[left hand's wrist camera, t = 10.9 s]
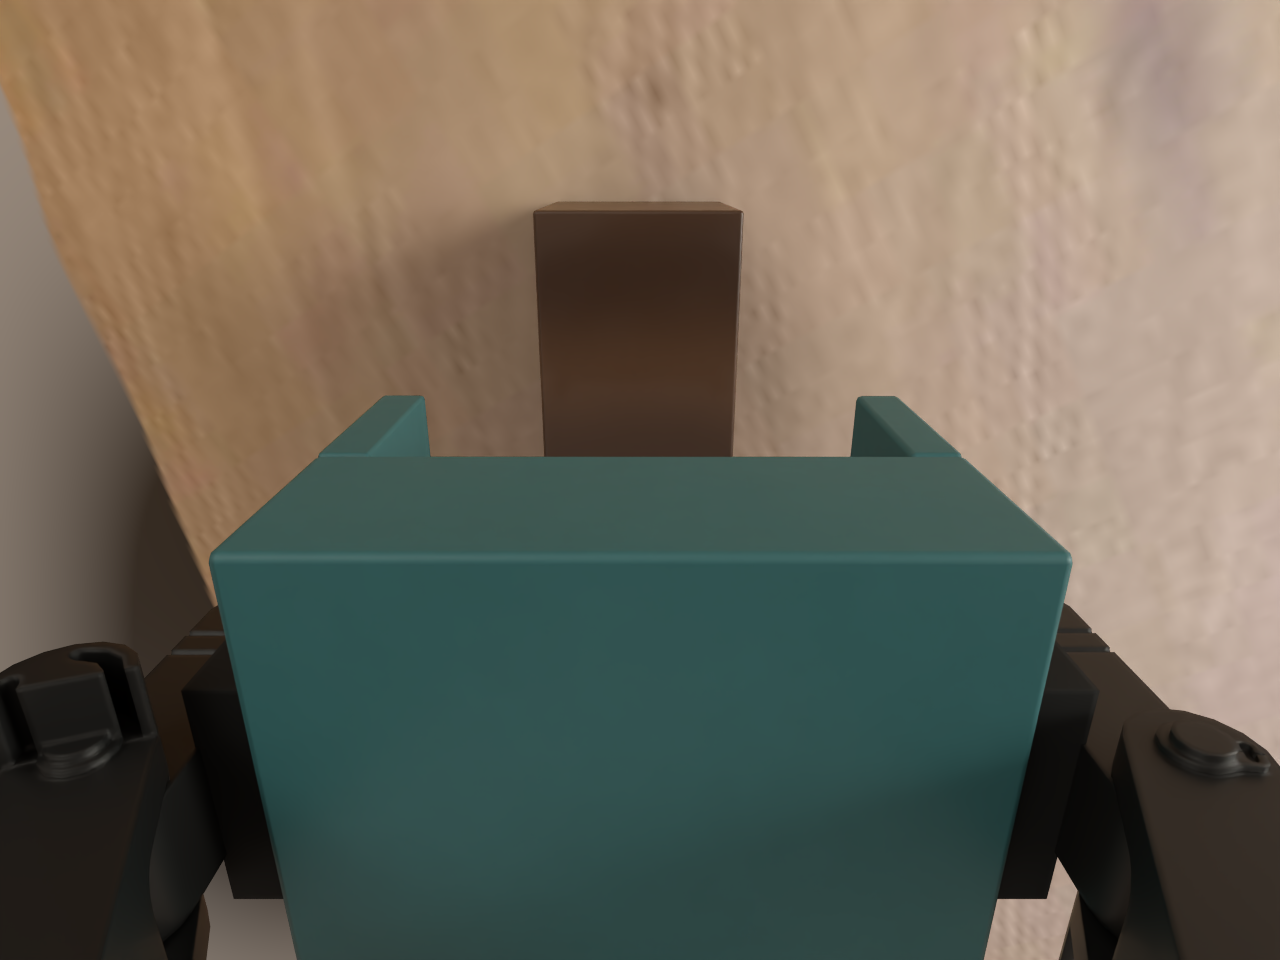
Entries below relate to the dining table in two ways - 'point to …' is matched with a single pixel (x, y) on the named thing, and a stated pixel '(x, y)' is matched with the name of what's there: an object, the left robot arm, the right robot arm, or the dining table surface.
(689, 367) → the bar
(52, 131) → the dining table surface
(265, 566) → the teal u-shaped block
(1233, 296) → the dining table surface
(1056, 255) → the dining table surface
